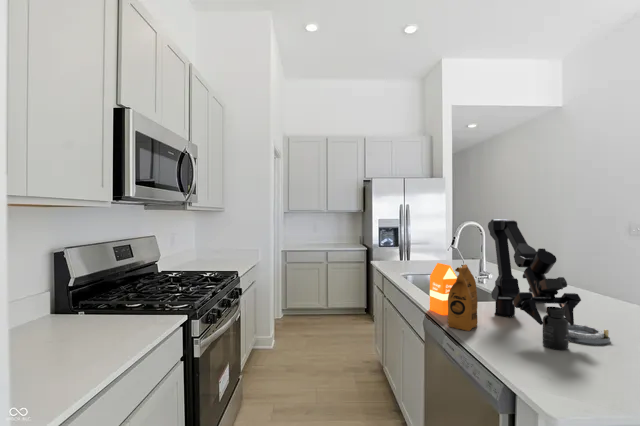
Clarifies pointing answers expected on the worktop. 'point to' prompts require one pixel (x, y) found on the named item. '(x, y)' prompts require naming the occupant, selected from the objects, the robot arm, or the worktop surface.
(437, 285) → the orange juice
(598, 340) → the seat plate
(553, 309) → the supplement bottle
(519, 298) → the robot arm
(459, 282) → the coffee package
